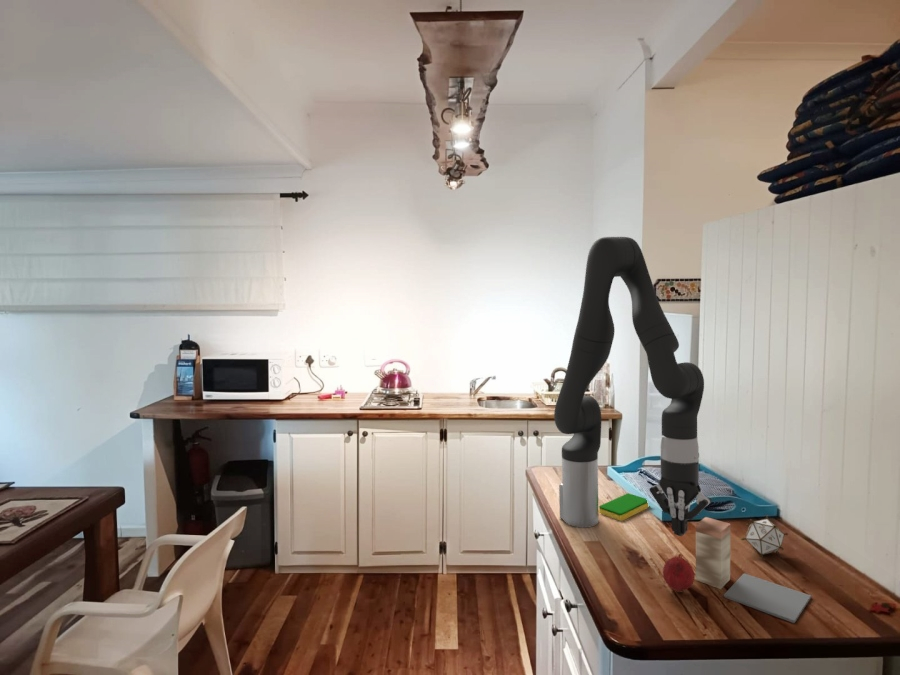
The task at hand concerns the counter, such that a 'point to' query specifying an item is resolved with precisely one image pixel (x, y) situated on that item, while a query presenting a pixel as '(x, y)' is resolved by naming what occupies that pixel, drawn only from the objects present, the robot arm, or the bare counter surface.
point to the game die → (764, 536)
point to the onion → (678, 573)
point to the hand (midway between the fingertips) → (679, 534)
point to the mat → (768, 597)
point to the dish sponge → (623, 506)
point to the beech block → (713, 552)
